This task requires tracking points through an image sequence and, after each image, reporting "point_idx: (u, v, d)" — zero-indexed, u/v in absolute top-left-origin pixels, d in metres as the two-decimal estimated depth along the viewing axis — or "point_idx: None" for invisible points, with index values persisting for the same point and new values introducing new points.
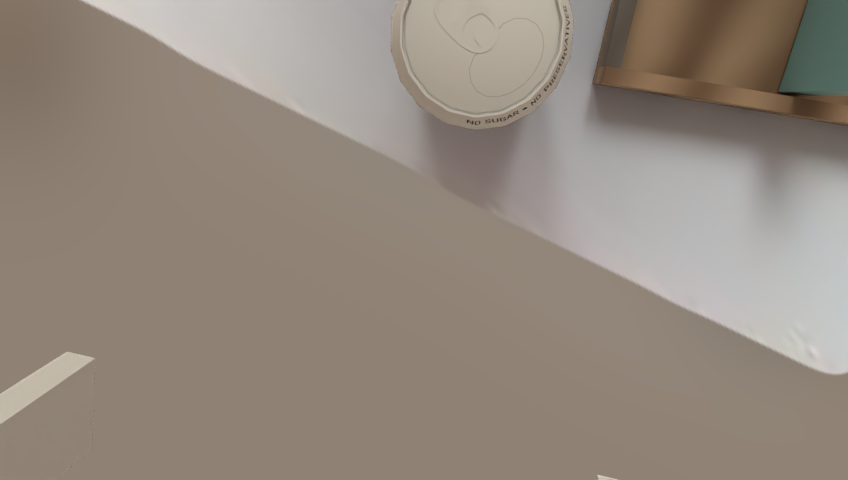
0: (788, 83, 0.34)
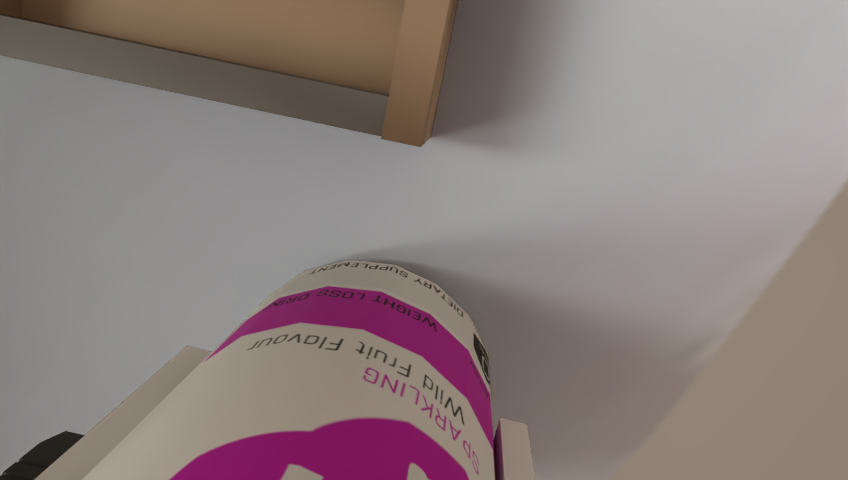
0: None
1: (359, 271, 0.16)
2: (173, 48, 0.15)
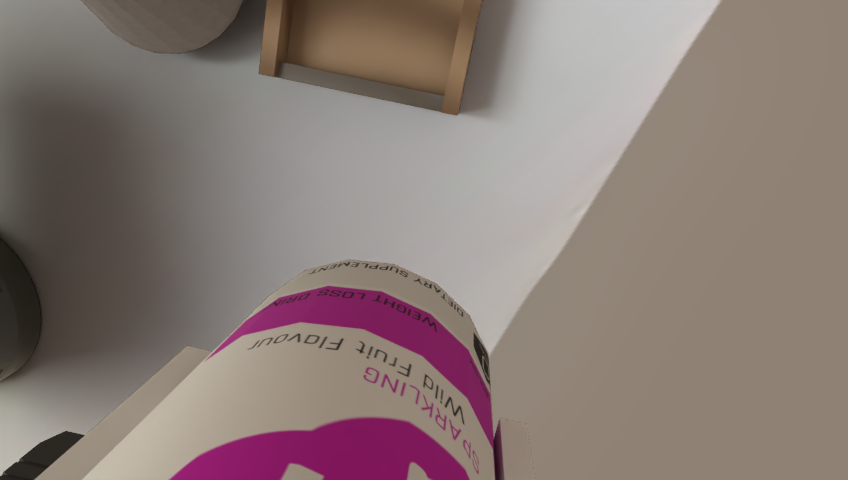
0: None
1: (359, 271, 0.16)
2: (351, 75, 0.36)
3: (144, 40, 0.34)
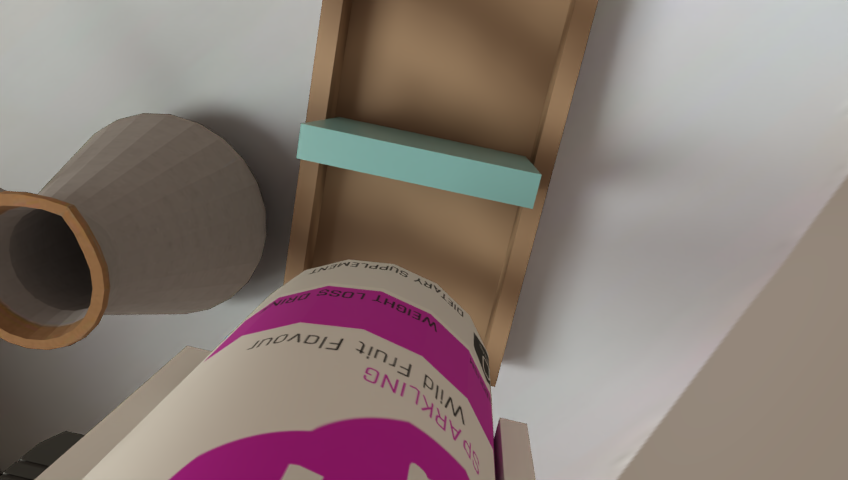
0: None
1: (359, 271, 0.16)
2: None
3: None
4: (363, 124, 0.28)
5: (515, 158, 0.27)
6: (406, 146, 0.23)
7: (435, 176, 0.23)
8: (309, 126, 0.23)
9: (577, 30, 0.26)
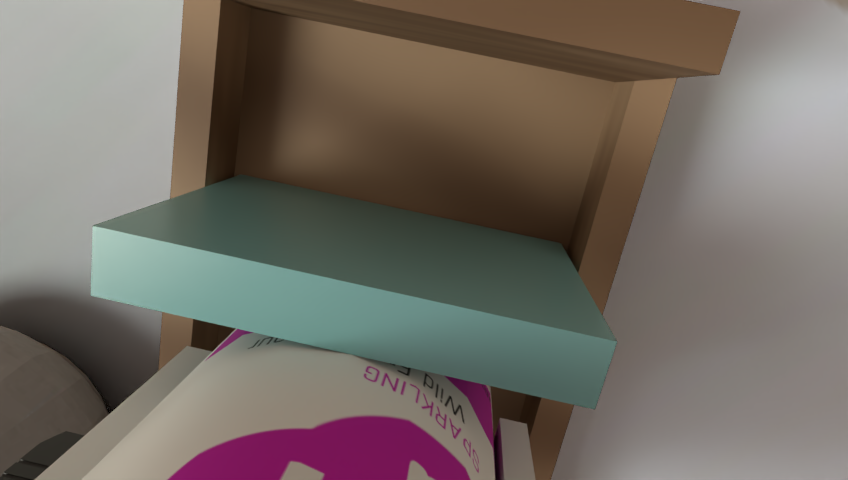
0: None
1: None
2: None
3: None
4: (274, 192, 0.16)
5: (547, 260, 0.15)
6: (320, 276, 0.11)
7: (384, 338, 0.11)
8: (111, 232, 0.11)
9: (611, 215, 0.15)
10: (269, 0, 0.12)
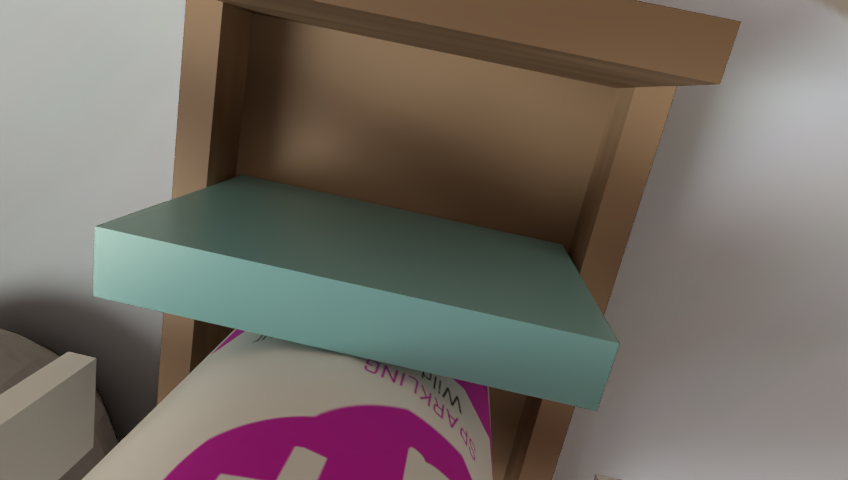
0: None
1: None
2: None
3: None
4: (275, 193, 0.16)
5: (548, 261, 0.15)
6: (322, 277, 0.11)
7: (387, 340, 0.11)
8: (113, 232, 0.11)
9: (611, 221, 0.15)
10: (271, 6, 0.13)
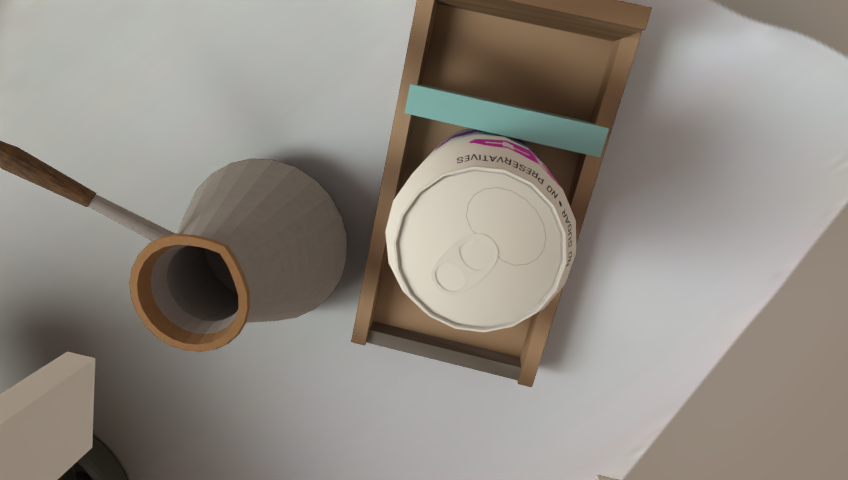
0: None
1: None
2: (432, 335, 0.40)
3: None
4: (448, 90, 0.33)
5: (579, 120, 0.32)
6: (496, 104, 0.28)
7: (520, 129, 0.28)
8: (417, 86, 0.28)
9: (609, 102, 0.32)
10: (466, 1, 0.30)
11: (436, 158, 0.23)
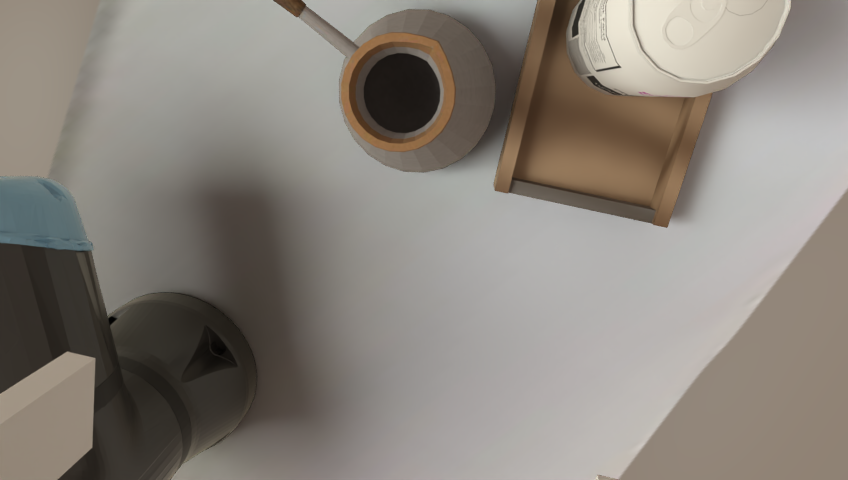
0: None
1: None
2: (566, 188, 0.42)
3: (405, 166, 0.39)
4: None
5: None
6: None
7: None
8: None
9: None
10: None
11: None
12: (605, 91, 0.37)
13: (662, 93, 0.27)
